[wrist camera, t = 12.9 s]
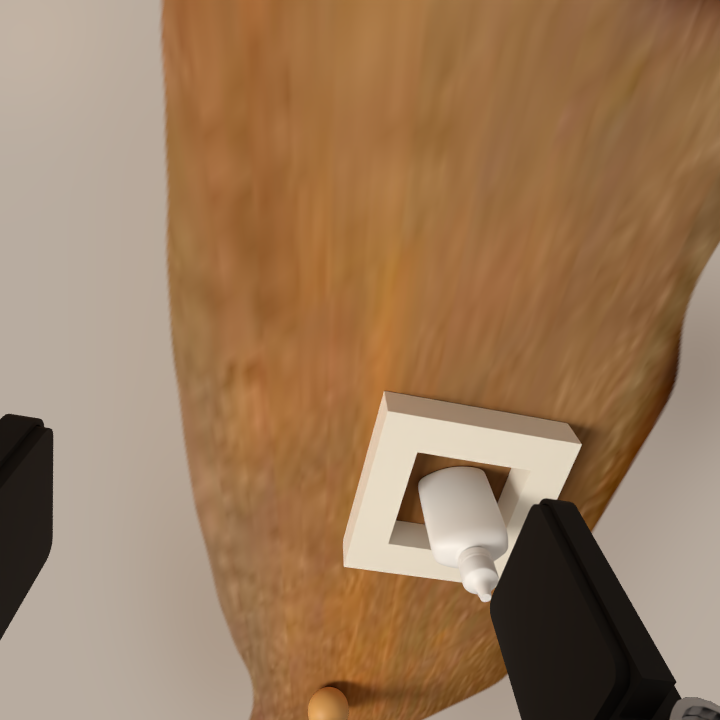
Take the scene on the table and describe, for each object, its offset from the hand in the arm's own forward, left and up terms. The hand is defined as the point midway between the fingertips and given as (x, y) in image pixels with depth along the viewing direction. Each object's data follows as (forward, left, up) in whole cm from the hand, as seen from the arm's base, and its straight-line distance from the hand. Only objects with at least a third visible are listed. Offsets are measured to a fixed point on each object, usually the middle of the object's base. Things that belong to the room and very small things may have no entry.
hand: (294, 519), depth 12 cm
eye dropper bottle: (+20, +15, -31) cm, 39 cm away
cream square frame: (+20, +15, -30) cm, 39 cm away
